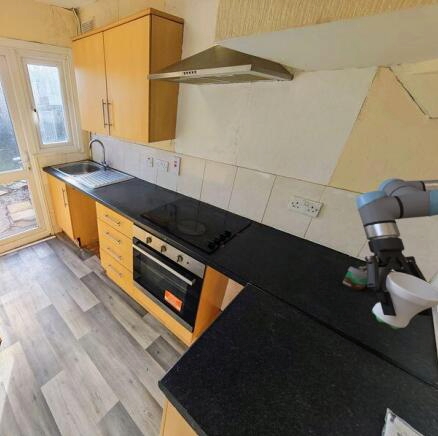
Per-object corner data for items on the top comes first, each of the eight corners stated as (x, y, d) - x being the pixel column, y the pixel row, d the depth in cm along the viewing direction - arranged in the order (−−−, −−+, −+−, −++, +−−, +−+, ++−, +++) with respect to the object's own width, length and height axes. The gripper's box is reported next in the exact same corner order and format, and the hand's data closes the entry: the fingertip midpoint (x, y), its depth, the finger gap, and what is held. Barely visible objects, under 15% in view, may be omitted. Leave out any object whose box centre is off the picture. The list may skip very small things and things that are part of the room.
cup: (397, 310, 73) (424, 276, 66) (423, 341, 63) (457, 305, 57) (356, 301, 76) (378, 267, 69) (375, 329, 66) (403, 293, 60)
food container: (353, 294, 96) (365, 276, 92) (339, 283, 101) (349, 266, 97) (373, 289, 99) (386, 271, 95) (359, 279, 105) (370, 262, 100)
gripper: (403, 242, 75) (427, 314, 69) (339, 240, 74) (357, 314, 67) (431, 237, 68) (461, 317, 61) (361, 235, 67) (384, 317, 60)
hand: (407, 315), depth 64 cm, fingers closed on cup, 10 cm apart
